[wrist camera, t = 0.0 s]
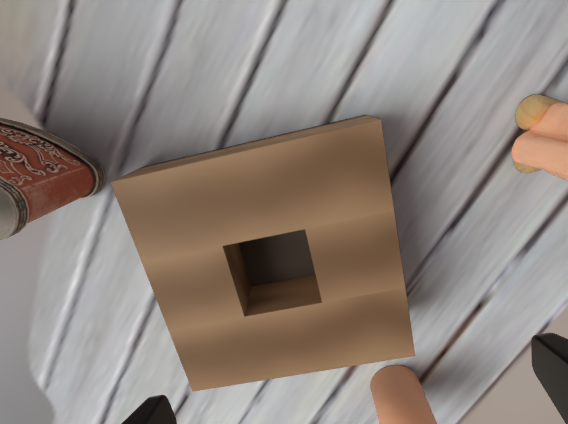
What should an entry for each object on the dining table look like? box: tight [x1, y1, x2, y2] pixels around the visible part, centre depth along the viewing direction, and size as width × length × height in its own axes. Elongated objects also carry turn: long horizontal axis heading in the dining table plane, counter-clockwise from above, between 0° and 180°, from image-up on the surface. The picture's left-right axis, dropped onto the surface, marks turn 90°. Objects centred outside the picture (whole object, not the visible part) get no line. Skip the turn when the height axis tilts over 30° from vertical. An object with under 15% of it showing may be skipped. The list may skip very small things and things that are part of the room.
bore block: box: [111, 115, 415, 391], centre depth 22 cm, size 14×14×4 cm
